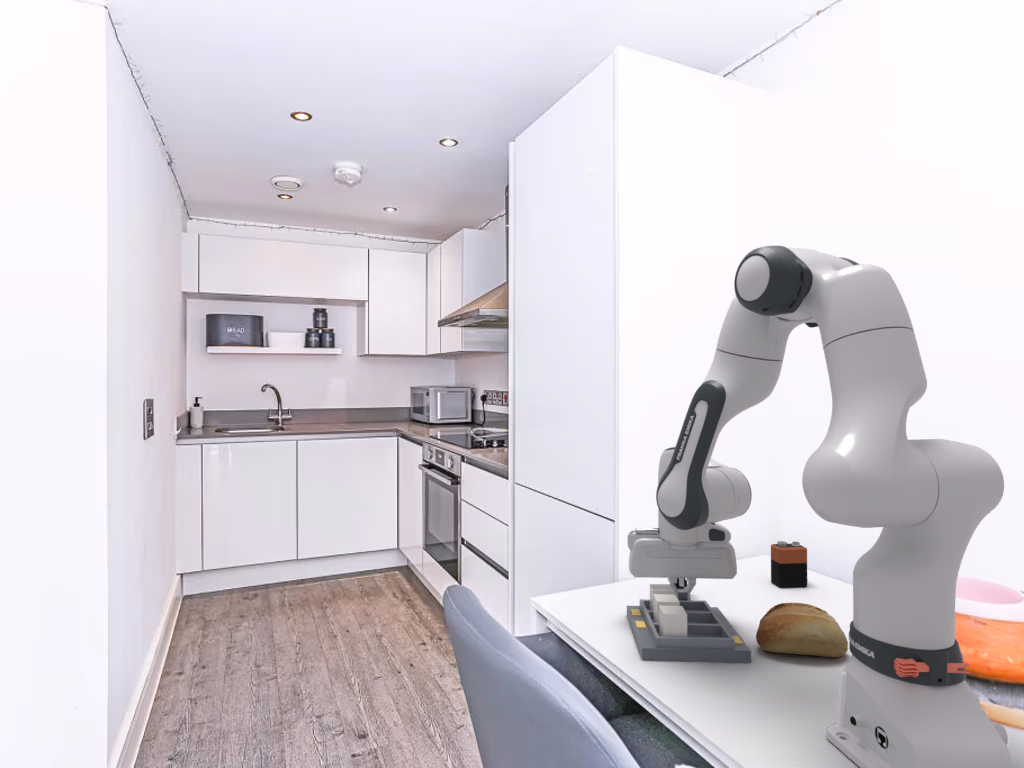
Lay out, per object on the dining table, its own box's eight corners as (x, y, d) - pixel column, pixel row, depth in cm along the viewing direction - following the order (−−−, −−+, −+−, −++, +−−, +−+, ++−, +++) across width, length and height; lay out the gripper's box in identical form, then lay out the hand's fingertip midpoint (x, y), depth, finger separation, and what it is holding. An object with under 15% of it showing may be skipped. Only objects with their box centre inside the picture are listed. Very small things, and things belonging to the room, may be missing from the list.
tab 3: (687, 643, 103) (687, 614, 103) (663, 643, 104) (663, 613, 104) (682, 634, 107) (682, 605, 107) (659, 633, 108) (659, 605, 108)
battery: (770, 582, 142) (769, 540, 142) (797, 581, 143) (797, 539, 143) (780, 588, 138) (779, 544, 138) (808, 587, 138) (808, 543, 138)
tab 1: (674, 617, 115) (674, 590, 115) (653, 616, 115) (653, 590, 116) (670, 609, 119) (670, 584, 119) (649, 609, 119) (649, 583, 120)
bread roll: (747, 639, 110) (747, 595, 110) (832, 641, 109) (831, 597, 109) (765, 663, 101) (765, 615, 101) (858, 666, 100) (858, 617, 100)
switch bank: (751, 662, 101) (750, 641, 101) (641, 660, 102) (641, 639, 102) (717, 617, 121) (717, 599, 121) (626, 615, 122) (626, 598, 122)
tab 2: (679, 629, 109) (679, 602, 109) (657, 629, 110) (657, 601, 110) (675, 621, 113) (675, 594, 113) (653, 620, 114) (653, 594, 114)
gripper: (629, 531, 115) (629, 604, 115) (739, 533, 114) (739, 606, 113) (625, 524, 121) (625, 593, 121) (729, 525, 120) (730, 595, 120)
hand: (681, 599), depth 117 cm, fingers closed
